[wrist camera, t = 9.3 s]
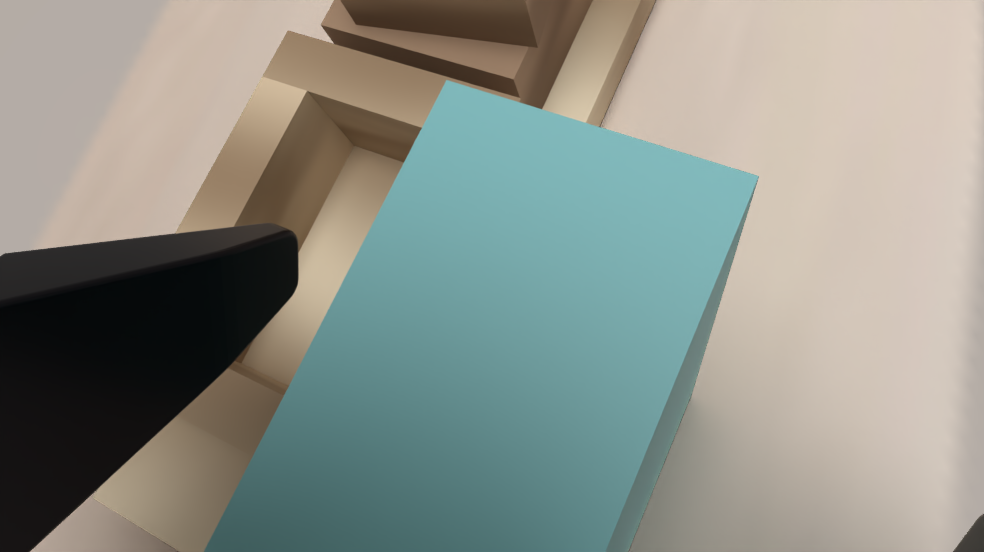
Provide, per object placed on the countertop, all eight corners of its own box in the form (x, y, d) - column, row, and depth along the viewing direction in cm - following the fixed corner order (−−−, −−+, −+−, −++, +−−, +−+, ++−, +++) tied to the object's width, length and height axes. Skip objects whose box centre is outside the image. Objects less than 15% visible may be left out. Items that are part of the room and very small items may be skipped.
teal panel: (599, 624, 14) (445, 944, 4) (488, 565, 15) (125, 703, 5) (690, 395, 15) (759, 177, 5) (582, 349, 16) (446, 79, 6)
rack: (369, 643, 15) (284, 685, 12) (129, 498, 17) (-4, 498, 14) (676, -47, 18) (680, -173, 15) (442, -95, 21) (398, -214, 17)
